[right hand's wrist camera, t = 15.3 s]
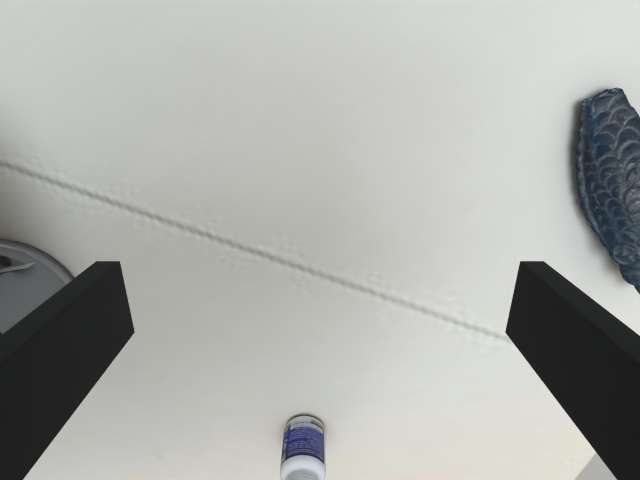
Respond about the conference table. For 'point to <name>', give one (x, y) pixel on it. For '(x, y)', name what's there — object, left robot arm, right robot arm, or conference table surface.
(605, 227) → the fish model
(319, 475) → the pill bottle
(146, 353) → the conference table surface
